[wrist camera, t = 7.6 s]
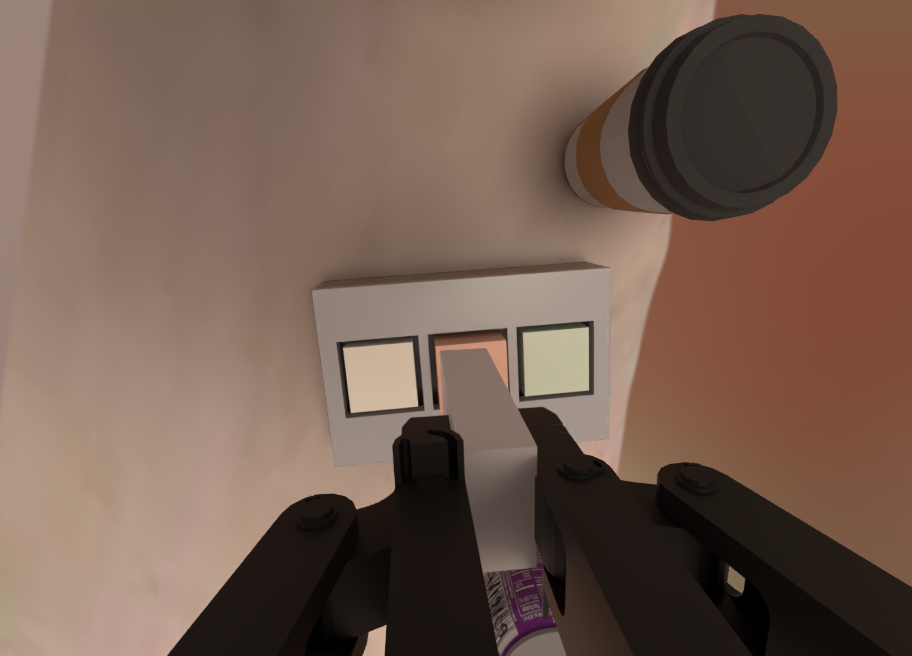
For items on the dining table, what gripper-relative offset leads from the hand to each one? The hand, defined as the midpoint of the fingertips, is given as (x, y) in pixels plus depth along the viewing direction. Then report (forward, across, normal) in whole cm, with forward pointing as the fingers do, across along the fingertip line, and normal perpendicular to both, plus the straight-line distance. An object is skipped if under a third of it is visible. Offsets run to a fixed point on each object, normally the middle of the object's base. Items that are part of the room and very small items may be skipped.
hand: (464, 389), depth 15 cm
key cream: (+18, -4, -5) cm, 19 cm away
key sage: (+18, +8, -5) cm, 20 cm away
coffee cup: (+20, +12, +8) cm, 25 cm away
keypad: (+20, +2, -5) cm, 20 cm away
